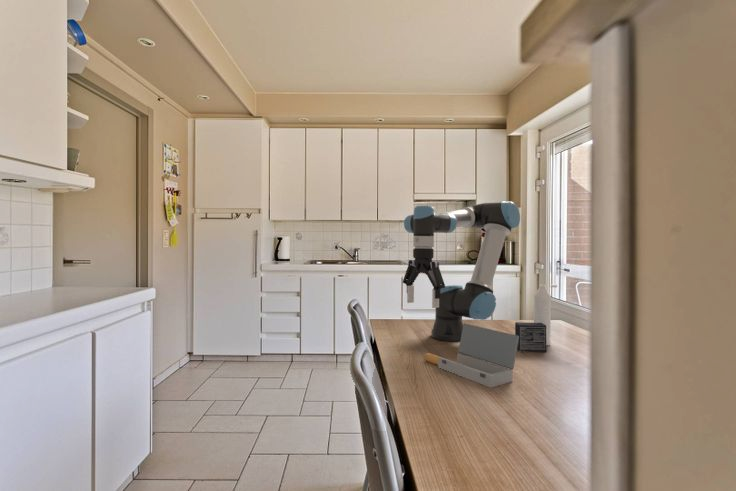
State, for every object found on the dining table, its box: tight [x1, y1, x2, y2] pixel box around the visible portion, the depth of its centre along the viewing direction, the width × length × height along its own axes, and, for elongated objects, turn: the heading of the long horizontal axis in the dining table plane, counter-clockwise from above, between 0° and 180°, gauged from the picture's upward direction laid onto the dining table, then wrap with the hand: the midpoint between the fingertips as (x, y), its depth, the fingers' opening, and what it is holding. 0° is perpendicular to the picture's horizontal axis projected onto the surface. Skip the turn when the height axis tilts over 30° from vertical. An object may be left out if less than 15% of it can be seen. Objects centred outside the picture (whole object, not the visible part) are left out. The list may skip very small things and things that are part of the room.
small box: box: [514, 321, 547, 353], centre depth 159 cm, size 11×6×10 cm, turn 84°
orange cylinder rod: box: [424, 352, 440, 366], centre depth 139 cm, size 10×3×3 cm
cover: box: [458, 322, 519, 371], centre depth 133 cm, size 22×10×1 cm
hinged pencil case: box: [437, 352, 514, 389], centre depth 129 cm, size 22×10×4 cm, turn 34°
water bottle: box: [533, 283, 558, 347], centre depth 168 cm, size 9×6×25 cm
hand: (422, 305), depth 149 cm, fingers open, 13 cm apart
